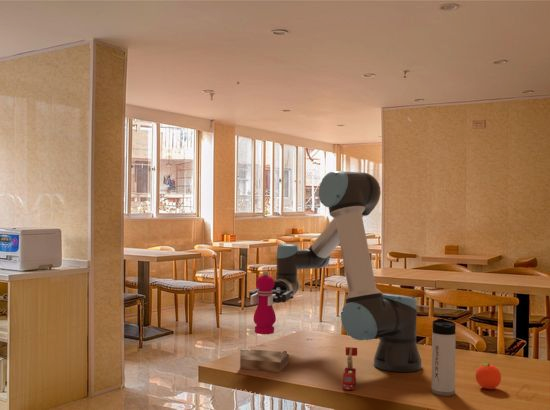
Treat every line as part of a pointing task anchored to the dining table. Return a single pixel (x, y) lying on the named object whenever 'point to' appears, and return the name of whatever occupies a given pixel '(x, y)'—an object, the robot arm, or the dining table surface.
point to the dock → (263, 360)
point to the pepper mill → (264, 305)
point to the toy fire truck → (349, 378)
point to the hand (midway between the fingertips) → (260, 300)
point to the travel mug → (443, 357)
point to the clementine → (488, 376)
